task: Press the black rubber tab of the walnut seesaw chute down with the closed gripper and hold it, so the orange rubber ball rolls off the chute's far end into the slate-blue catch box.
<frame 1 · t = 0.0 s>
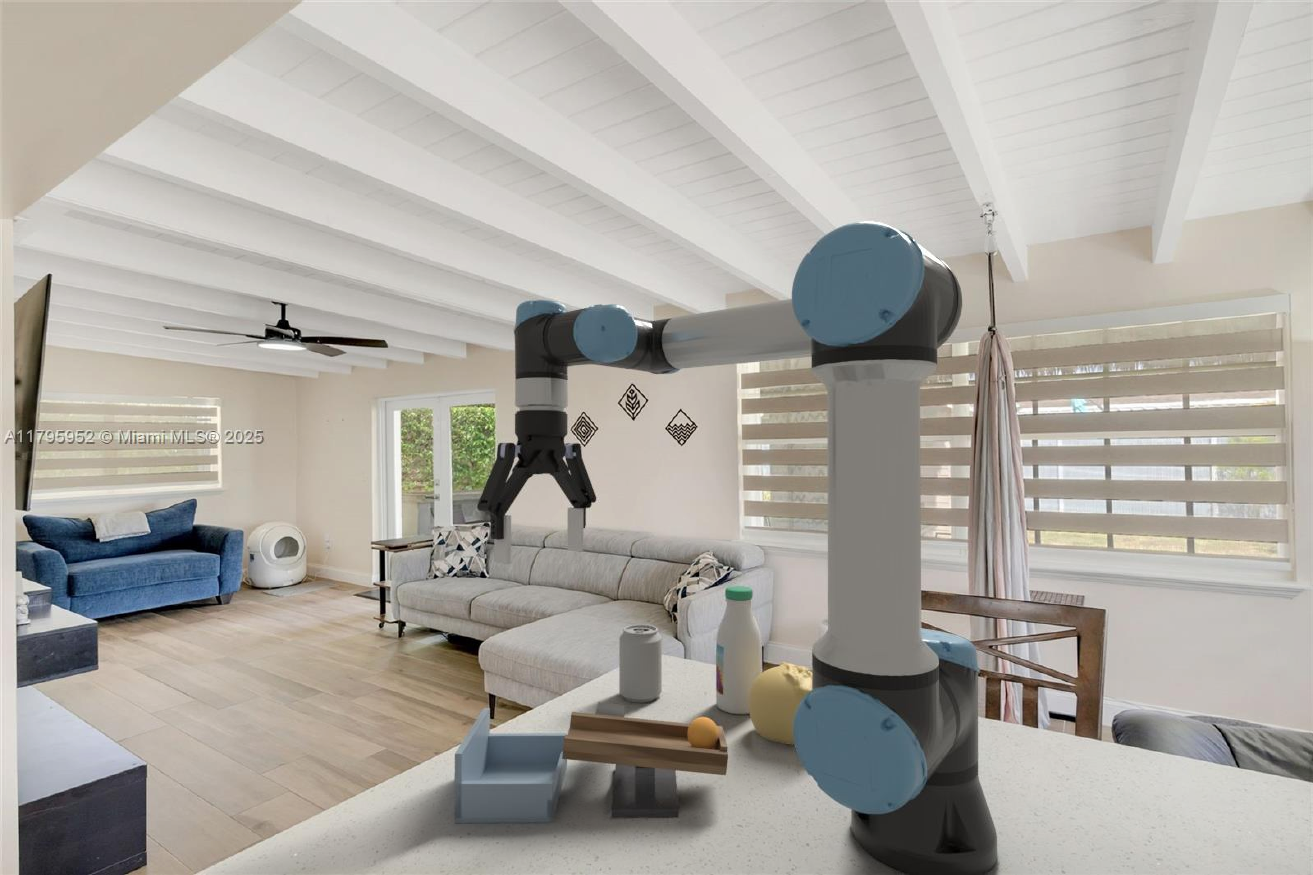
hand: (541, 556, 95), 28 cm above the counter, tool pointing down, fingers open, 13 cm apart
milk bottle: (739, 707, 111), on the counter
seesaw chute: (645, 726, 88), point 6 cm above the counter, hinge at -6.0°, touching ball
catch box: (515, 792, 84), on the counter
can: (640, 697, 116), on the counter
pivot stand: (645, 791, 84), on the counter
ball: (703, 734, 84), point 7 cm above the counter, tilted 8°, touching seesaw chute
sculpture: (788, 738, 100), on the counter
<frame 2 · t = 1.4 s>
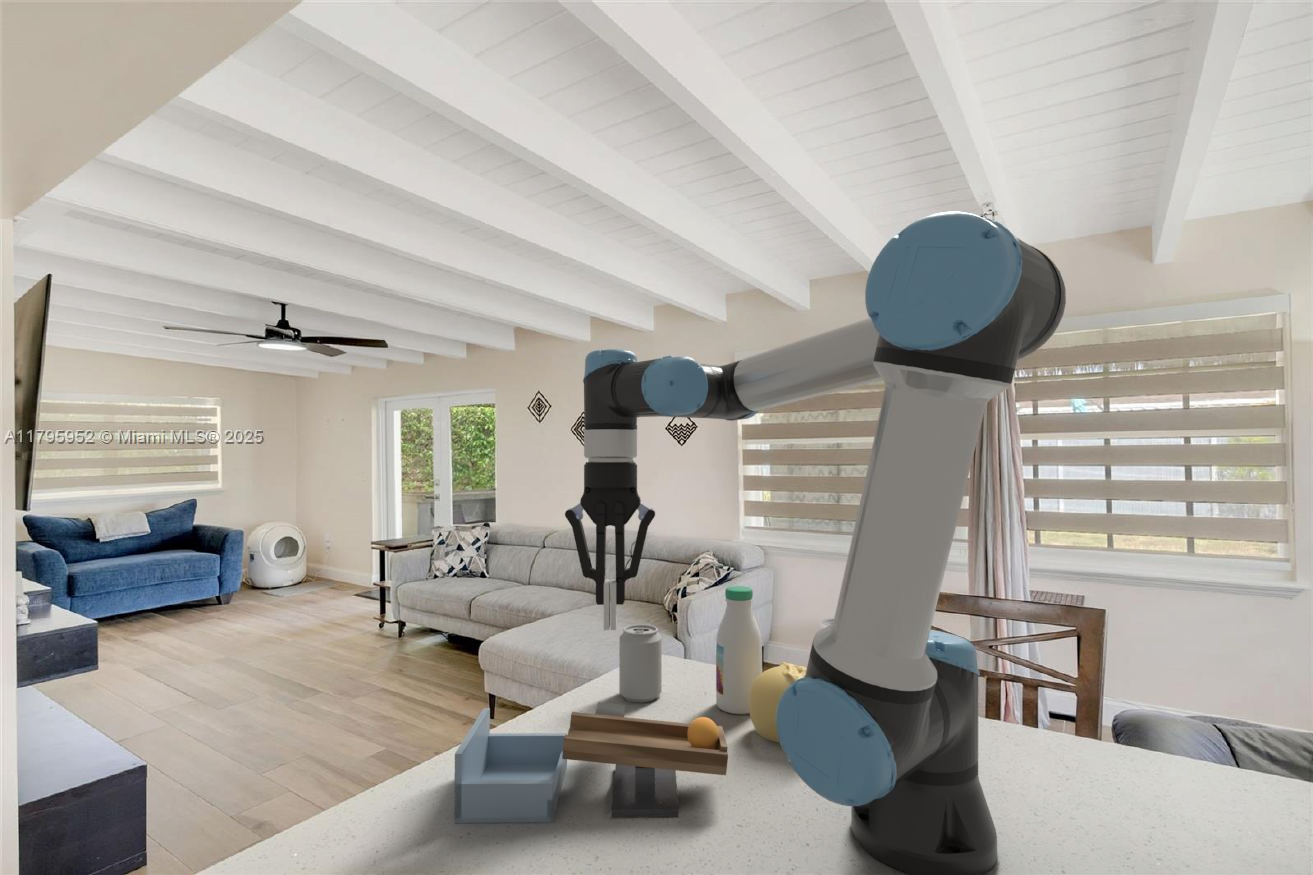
hand: (610, 627, 93), 18 cm above the counter, tool pointing down, fingers closed
nothing on the counter moved.
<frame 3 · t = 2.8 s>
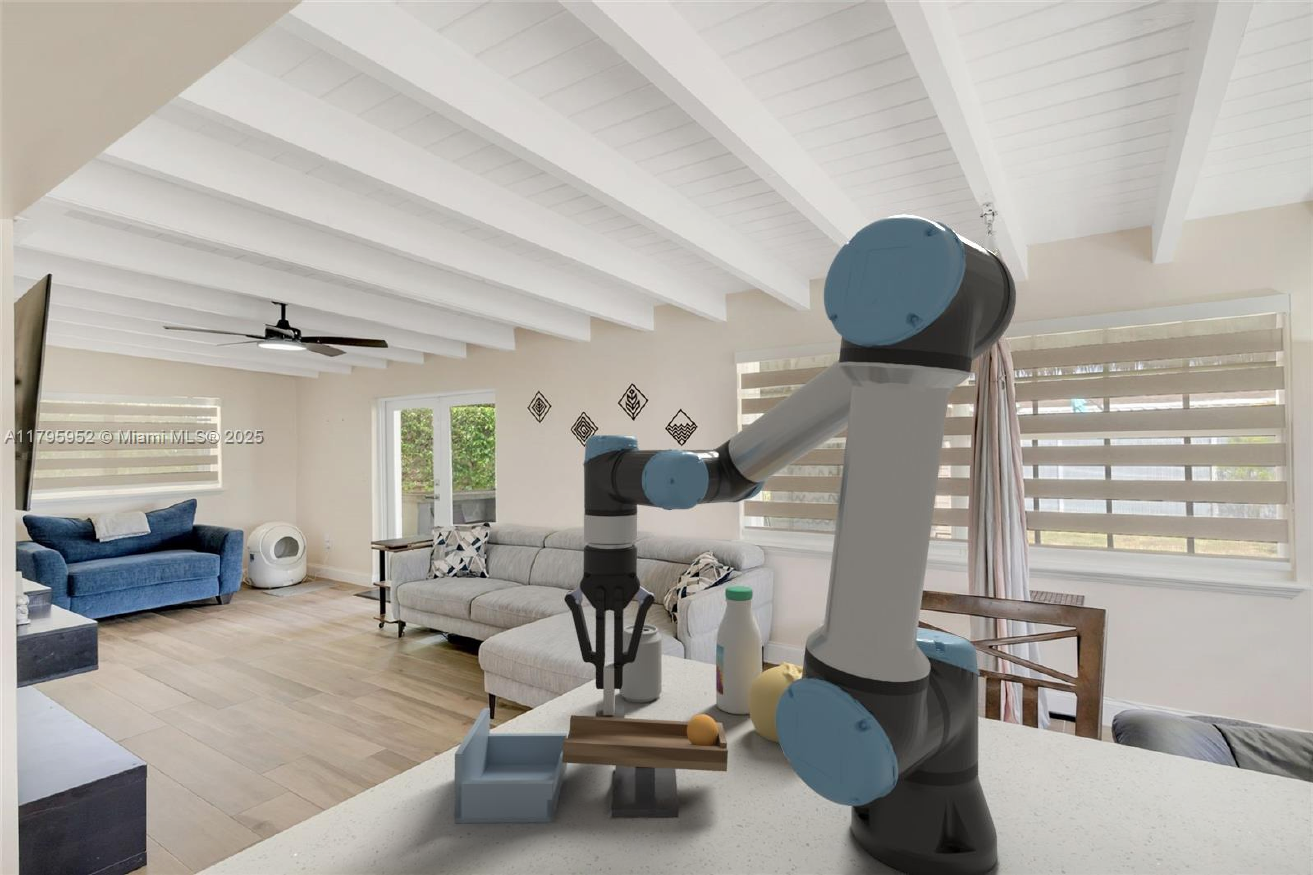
hand: (609, 711, 93), 7 cm above the counter, tool pointing down, fingers closed
seesaw chute: (645, 726, 88), point 6 cm above the counter, hinge at -3.2°, touching ball, gripper
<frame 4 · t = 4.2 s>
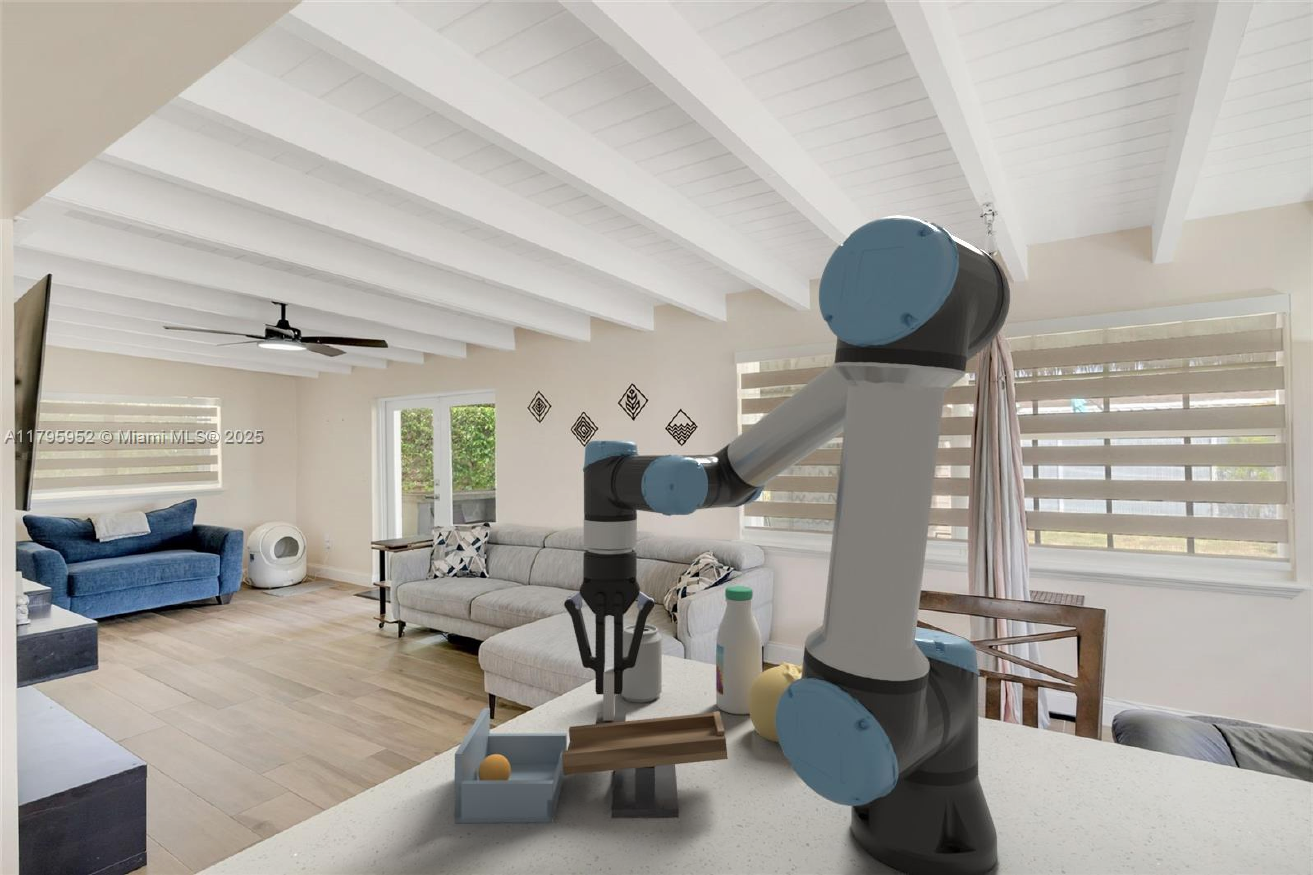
hand: (609, 716, 93), 6 cm above the counter, tool pointing down, fingers closed
seesaw chute: (645, 726, 88), point 6 cm above the counter, hinge at 5.4°, touching gripper
ball: (494, 771, 84), point 3 cm above the counter, tilted 54°, touching catch box
everything else where it was.
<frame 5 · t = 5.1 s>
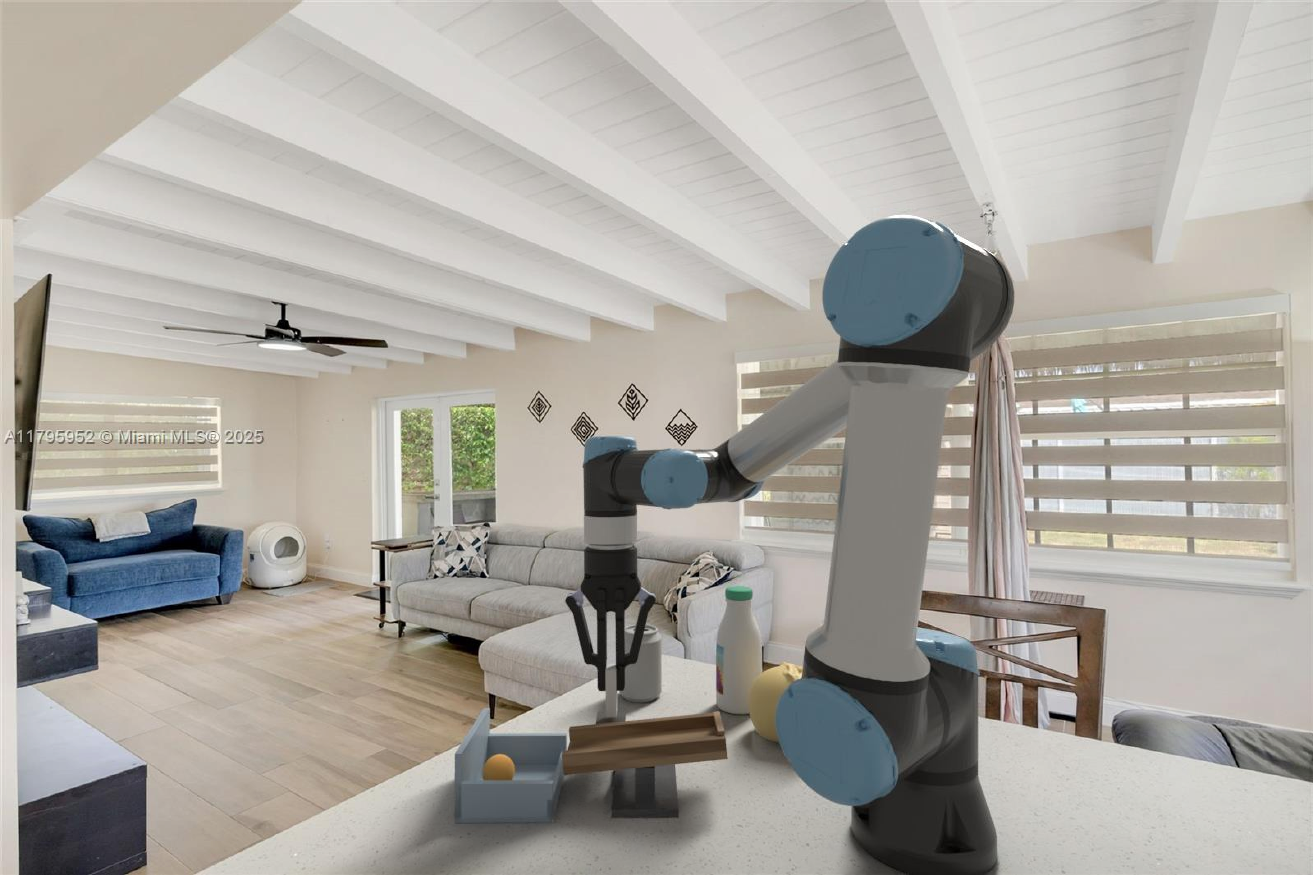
hand: (611, 713, 93), 6 cm above the counter, tool pointing down, fingers closed
seesaw chute: (645, 726, 88), point 6 cm above the counter, hinge at 5.4°
ball: (498, 771, 84), point 3 cm above the counter, tilted 40°, touching catch box
everything else where it was.
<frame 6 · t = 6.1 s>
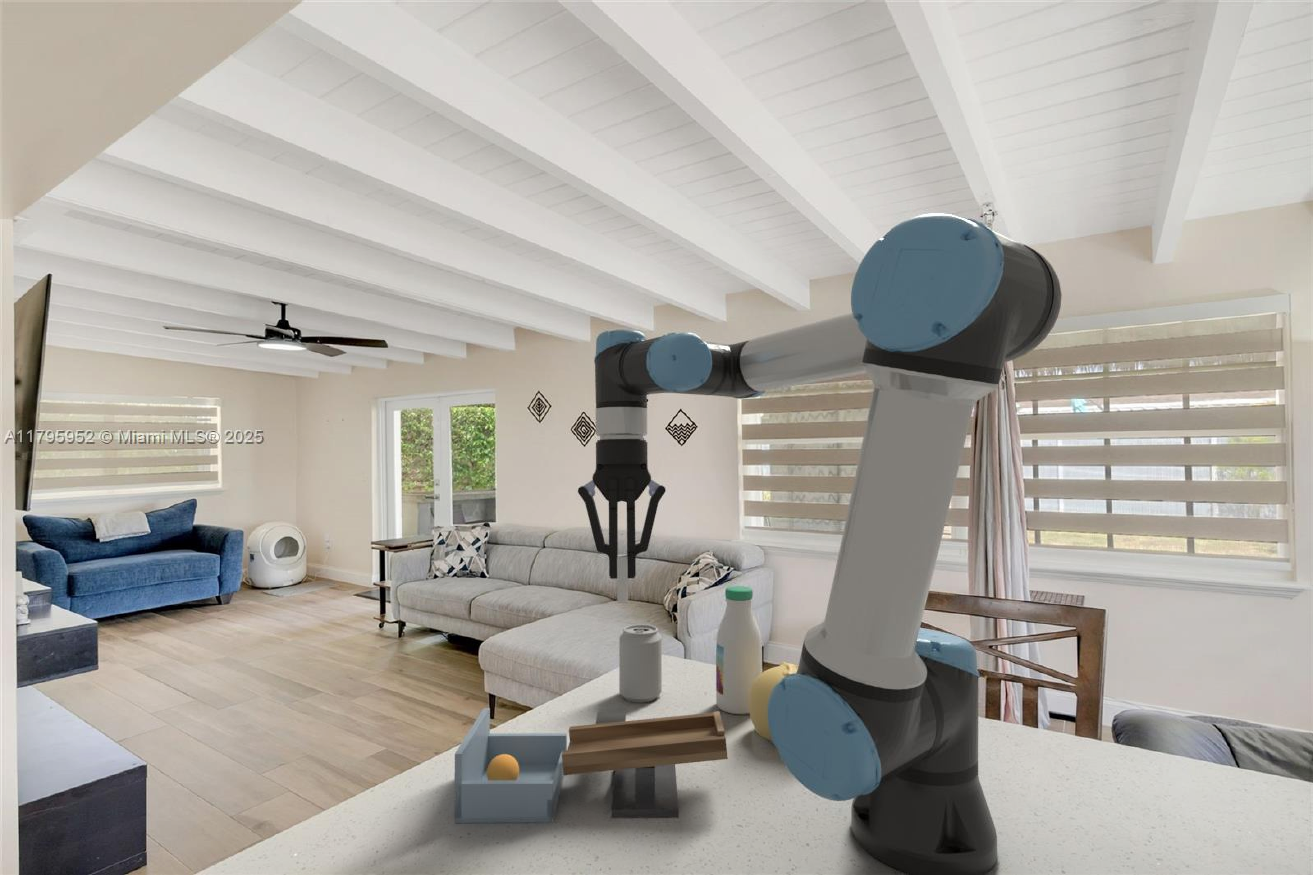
hand: (622, 600, 96), 22 cm above the counter, tool pointing down, fingers closed
ball: (503, 771, 84), point 3 cm above the counter, tilted 23°, touching catch box
everything else where it was.
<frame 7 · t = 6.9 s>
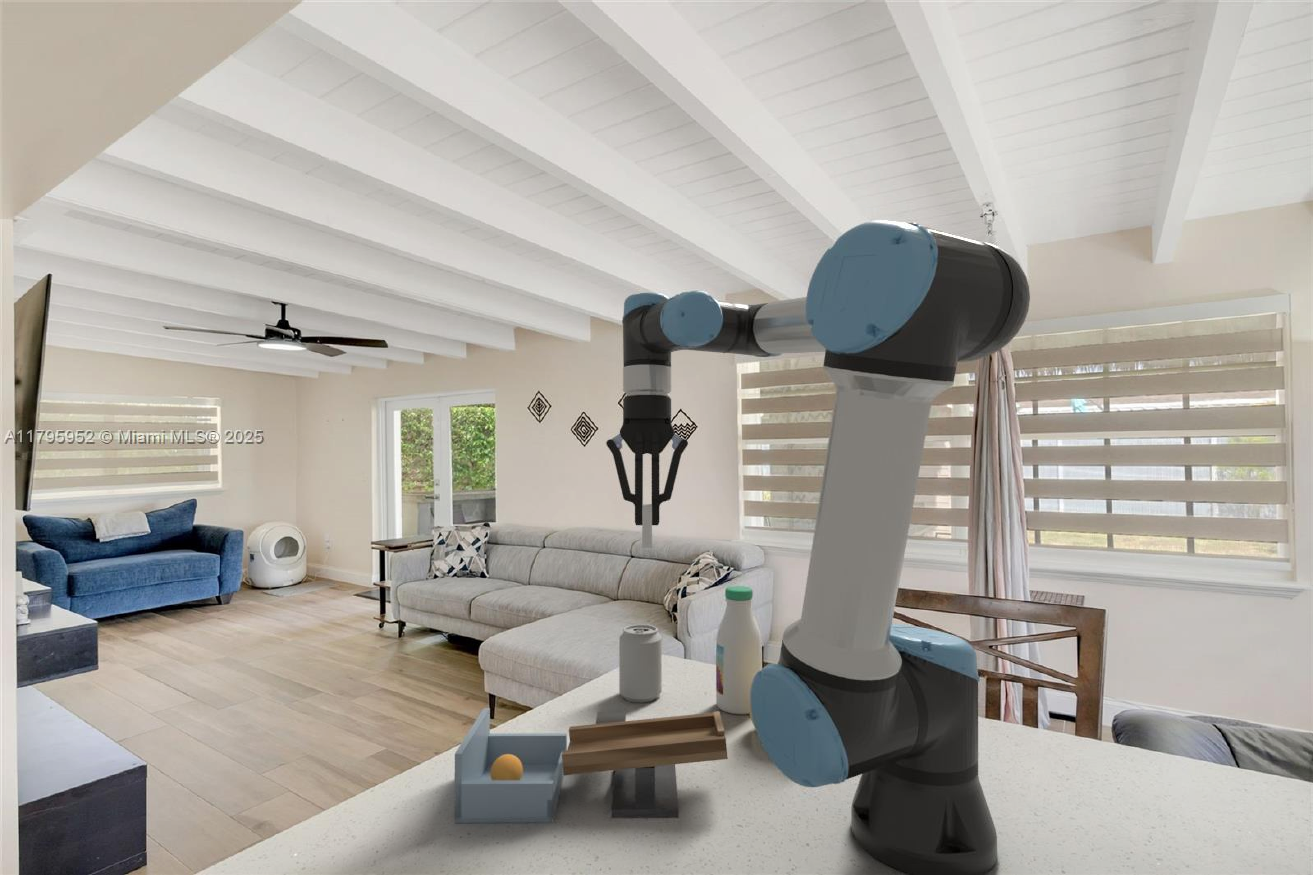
hand: (647, 546, 103), 28 cm above the counter, tool pointing down, fingers closed
ball: (506, 771, 84), point 3 cm above the counter, tilted 10°, touching catch box
everything else where it was.
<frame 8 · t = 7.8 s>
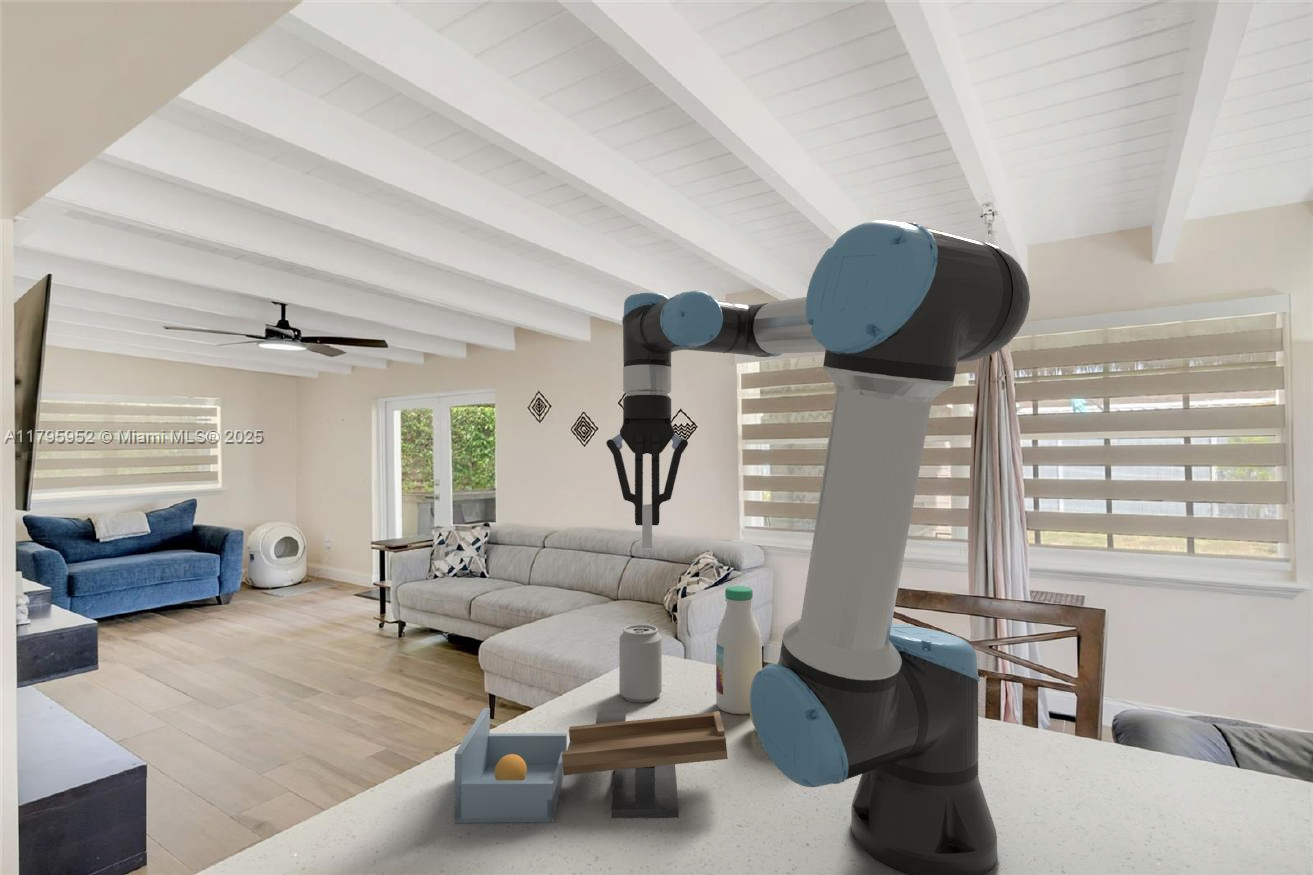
hand: (647, 546, 103), 28 cm above the counter, tool pointing down, fingers closed
ball: (510, 771, 84), point 3 cm above the counter, touching catch box
everything else where it was.
at the end: ball 0.5 cm from the catch box (horizontally); ball point 2.6 cm above the counter; seesaw chute at +5° (first picture: -6°) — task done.
